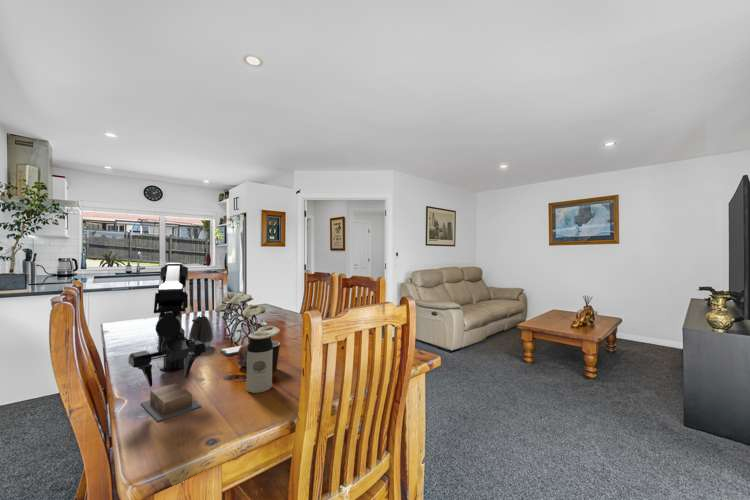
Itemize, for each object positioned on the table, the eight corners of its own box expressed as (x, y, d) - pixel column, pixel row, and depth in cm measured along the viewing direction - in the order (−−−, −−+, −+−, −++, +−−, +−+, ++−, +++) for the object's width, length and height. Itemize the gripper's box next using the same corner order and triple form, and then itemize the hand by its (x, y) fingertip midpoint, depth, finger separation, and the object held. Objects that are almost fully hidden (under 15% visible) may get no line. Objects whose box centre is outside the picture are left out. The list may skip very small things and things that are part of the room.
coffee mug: (284, 367, 124) (284, 342, 124) (269, 375, 116) (270, 348, 116) (259, 364, 128) (260, 339, 128) (244, 371, 119) (245, 345, 119)
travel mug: (251, 383, 109) (252, 331, 109) (274, 383, 109) (275, 331, 109) (242, 393, 101) (244, 337, 101) (268, 393, 101) (269, 337, 101)
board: (150, 390, 94) (164, 402, 86) (176, 382, 99) (192, 394, 92) (150, 401, 94) (164, 415, 86) (176, 393, 99) (191, 406, 91)
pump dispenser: (182, 350, 143) (183, 317, 143) (199, 344, 153) (200, 312, 153) (201, 352, 141) (202, 318, 141) (218, 345, 151) (218, 314, 151)
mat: (140, 404, 93) (140, 402, 93) (181, 391, 101) (181, 390, 101) (157, 422, 83) (157, 420, 83) (201, 406, 92) (201, 405, 92)
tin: (242, 369, 121) (242, 348, 121) (235, 369, 122) (235, 347, 122) (263, 357, 136) (264, 337, 136) (257, 356, 137) (257, 337, 137)
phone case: (254, 346, 153) (219, 352, 142) (254, 343, 153) (219, 349, 142) (262, 350, 147) (226, 357, 136) (262, 347, 147) (226, 353, 136)
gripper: (140, 341, 82) (138, 401, 81) (214, 328, 96) (213, 379, 96) (128, 333, 89) (127, 388, 89) (199, 322, 103) (198, 370, 103)
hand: (168, 381), depth 94 cm, fingers open, 9 cm apart
